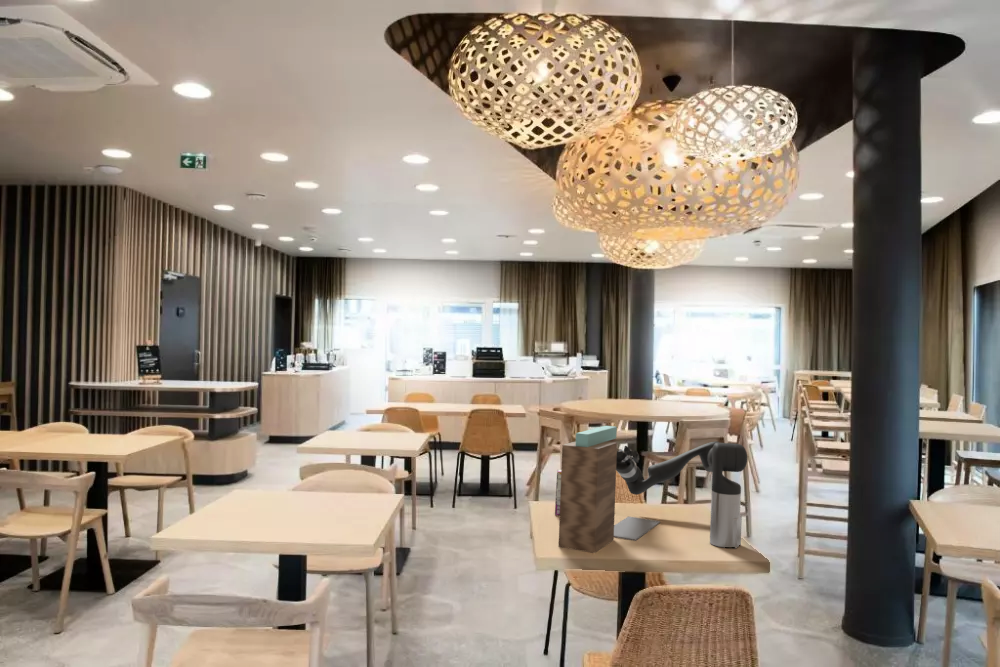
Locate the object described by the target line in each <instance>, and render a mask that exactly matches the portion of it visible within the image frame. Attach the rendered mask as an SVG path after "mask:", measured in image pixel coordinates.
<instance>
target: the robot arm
mask: <svg viewBox="0 0 1000 667" xmlns="http://www.w3.org/2000/svg"><path fill="white" fill-rule="evenodd" d="M638 452H639V451H638V450H633V449H631V448H630V446H629V447H628V445H624V448H623V450H617V461H616V473H618V474H619V476H620V477H621V478H622V480H624V481H625V483H626V486H627V489H628V491H629V493H631V494H632V495H641V494H644V493H645V492H646V491H648V490H649V489H650V488H652V487H653V486H655V485H657V484H659V483H662V482H665V481H668V480H669V481H670V480H671V479H673V478H675V477H677V476H678V475H679V474H680V473H681V471H683V469H684V468H685V467H686V465H688V463H689V462H690V461H691V460H693V459H694V458H696V457H697V456H699V459H700V461H701V464H702V466H703V468H704V470H705V471H707V472H708V473H711V496H710V497H711V499H710V522H709V523H710V525H709V526H710V527H709V530H710V531H709V544H711V545H713V546H715V547H719V548H725V547H735V548H734V549H737V548H738V547H740V546H741V544H742V543H741V542H742V522H743V521H742V519H743V518H742V515H741V500H742V497H741V496H742V486H741V484H740V483H738V482H736V481H733V480H731V479H729V478H727V477H726V476H725V475H724V474H723V472H729V473H730V472H732V473H740V472H743V471H744V470H745V468H747V463H748V454H747V453H748V452H747V450H746V448H745V446H743V444H739V443H732V442H731V443H730V442H728V443H727V442H720V441H711V442H707V443H704V444H702V445H699V446H696V447H694V448H693V449H690V450H687V451H685V452H683V453H681V454H678V455H676V456H675V457H674V456H673V458H670V459H666V460H664V461H661V462H658V463H655V464H651V465H649V466H648V468H647V474H648V477H647V478H646V479H645V477H644V475H643V473H642V470H641V469H640V467H639V466H637V464H639V461H640V455H639V453H638ZM739 545H740V546H739ZM736 547H737V548H736Z"/></svg>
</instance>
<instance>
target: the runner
mask: <svg viewBox="0 0 1000 667" xmlns="http://www.w3.org/2000/svg"><path fill="white" fill-rule="evenodd" d="M660 523H661V521H660V520H655V519H649V518H641V517H635V516H627V517H625V518H623V519H622V520H620V521H619V522H617V523H615V524H614V538H617V539H623V540H629V541H634V542H637V541H638V540H639V539H640V538H641V537H643V536H644V535H645V534H647V533H648V532H649V531H651V530H652V529H654V528H655V527H657V526H658V525H659V524H660Z"/></svg>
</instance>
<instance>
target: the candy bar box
mask: <svg viewBox="0 0 1000 667" xmlns="http://www.w3.org/2000/svg"><path fill="white" fill-rule="evenodd" d="M555 485H556V487H555V506H554V515H555V516H560V495H561V469H557V470H556V484H555Z"/></svg>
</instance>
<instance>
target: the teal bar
mask: <svg viewBox="0 0 1000 667" xmlns="http://www.w3.org/2000/svg"><path fill="white" fill-rule="evenodd" d="M617 428H618V427H617V426H614V425H613V426H612V425H604V426H600V427H599V426H598V427H595V428H592V429H588V430H583V431H580V432H576V433H575V441H576V445H575V446H581V447H590V446H593V445H596V444H599V443H603V442H610V441H612V440H615V439H617V436H618V435H617V433H618V432H617V430H618V429H617Z"/></svg>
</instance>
